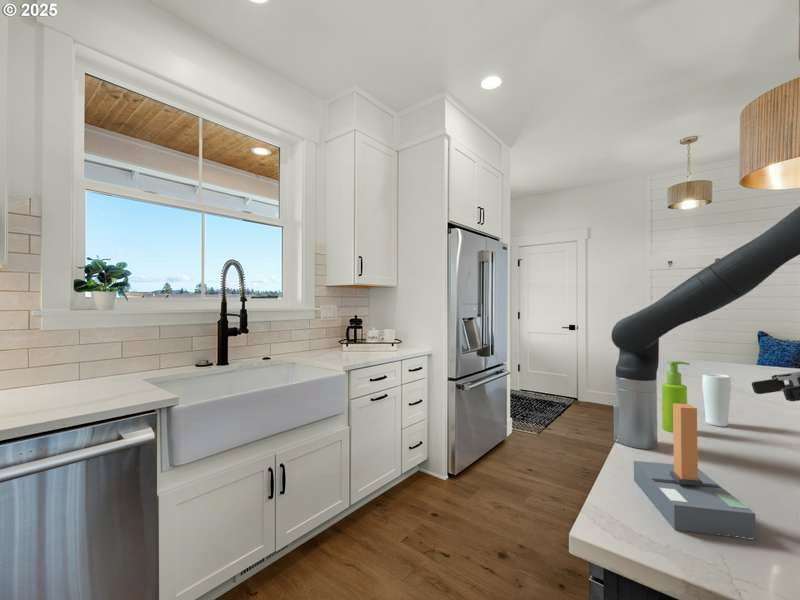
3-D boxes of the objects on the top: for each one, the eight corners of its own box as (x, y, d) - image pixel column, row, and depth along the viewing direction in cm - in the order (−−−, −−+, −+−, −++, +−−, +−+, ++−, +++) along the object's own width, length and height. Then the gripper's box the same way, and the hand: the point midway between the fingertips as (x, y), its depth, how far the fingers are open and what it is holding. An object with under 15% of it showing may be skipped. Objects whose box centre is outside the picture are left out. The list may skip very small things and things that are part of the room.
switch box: (695, 486, 76) (694, 465, 76) (755, 539, 59) (755, 513, 59) (633, 480, 79) (633, 460, 79) (674, 529, 61) (674, 504, 61)
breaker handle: (691, 477, 70) (691, 403, 70) (702, 486, 66) (701, 409, 67) (669, 475, 71) (668, 402, 71) (678, 483, 67) (678, 407, 68)
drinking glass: (702, 419, 120) (702, 372, 121) (730, 424, 116) (730, 374, 116) (702, 425, 115) (701, 375, 115) (731, 429, 111) (731, 378, 111)
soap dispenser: (696, 433, 107) (695, 362, 108) (671, 433, 107) (670, 362, 108) (681, 427, 113) (680, 360, 113) (657, 426, 113) (657, 359, 114)
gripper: (839, 350, 70) (738, 367, 74) (919, 353, 57) (789, 373, 61) (855, 391, 69) (751, 406, 73) (940, 404, 55) (807, 421, 59)
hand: (768, 391), depth 67 cm, fingers open, 8 cm apart
